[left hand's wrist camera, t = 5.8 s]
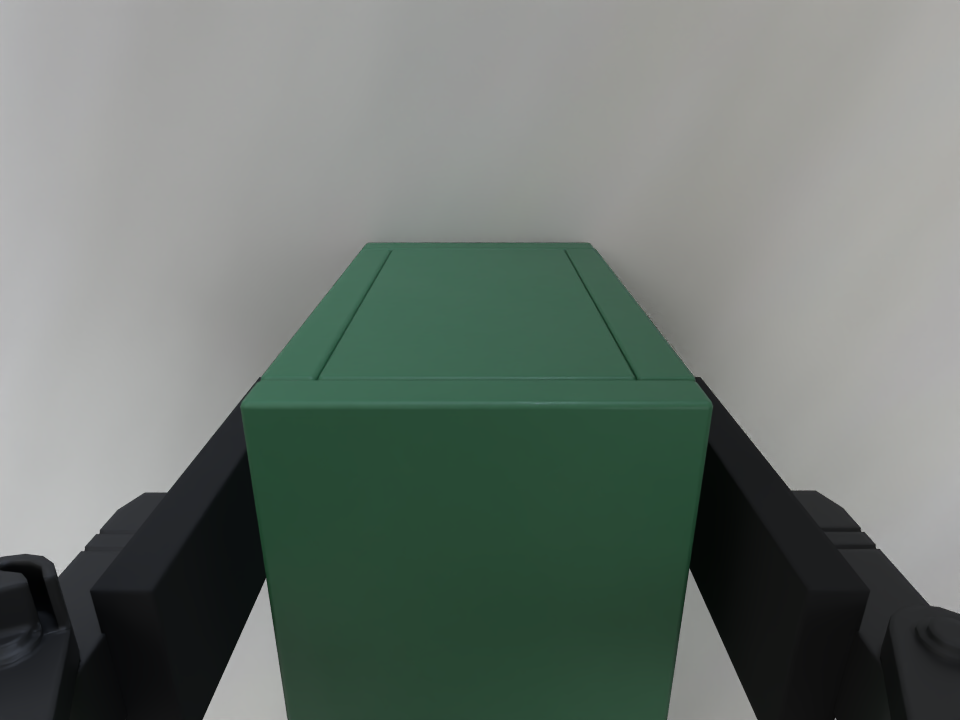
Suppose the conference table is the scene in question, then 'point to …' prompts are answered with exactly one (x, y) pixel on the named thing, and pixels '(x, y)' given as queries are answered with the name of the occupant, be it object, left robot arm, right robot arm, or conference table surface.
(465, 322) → the cabinet
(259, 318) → the conference table surface
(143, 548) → the left robot arm
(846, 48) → the conference table surface
